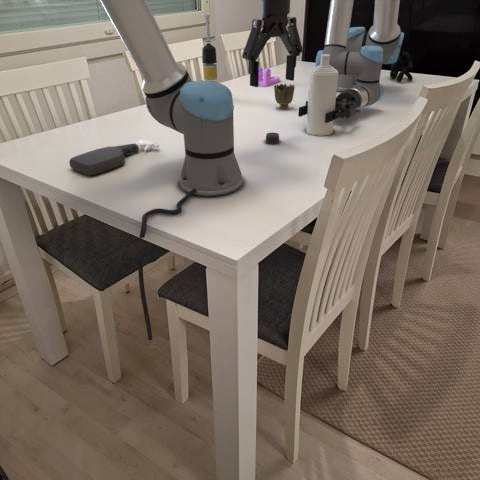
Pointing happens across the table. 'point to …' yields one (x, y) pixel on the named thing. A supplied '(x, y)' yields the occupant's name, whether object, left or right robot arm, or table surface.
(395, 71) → the squiggle
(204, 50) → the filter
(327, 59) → the bottle
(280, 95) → the cup
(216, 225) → the table surface
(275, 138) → the cap
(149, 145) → the spray bottle
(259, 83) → the bracket
